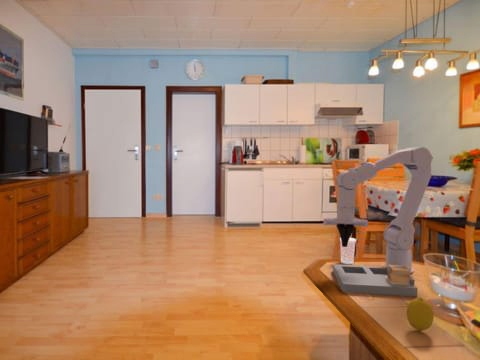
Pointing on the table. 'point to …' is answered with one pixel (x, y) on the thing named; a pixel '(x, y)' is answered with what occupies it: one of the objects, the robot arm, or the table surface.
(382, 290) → the platform
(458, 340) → the table surface
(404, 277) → the block
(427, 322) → the lemon
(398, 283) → the pad
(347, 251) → the beverage cup
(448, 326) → the table surface
